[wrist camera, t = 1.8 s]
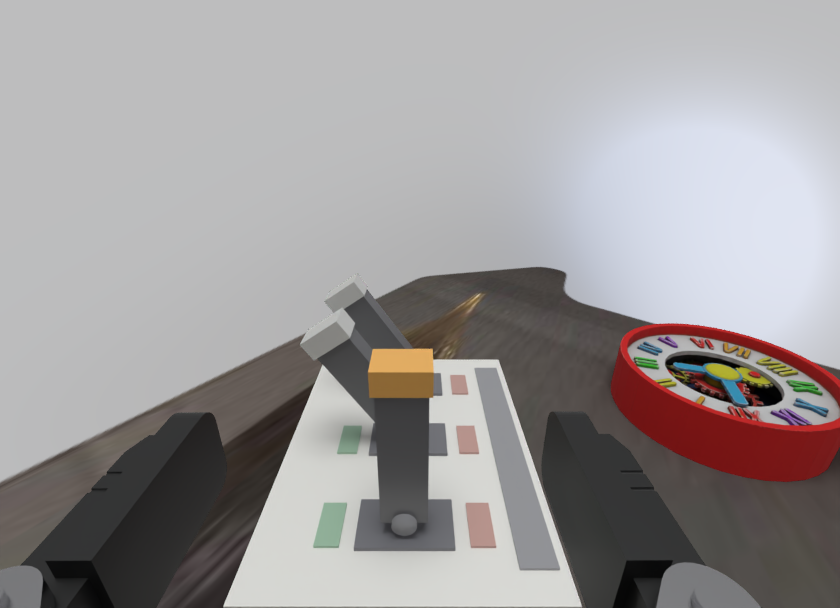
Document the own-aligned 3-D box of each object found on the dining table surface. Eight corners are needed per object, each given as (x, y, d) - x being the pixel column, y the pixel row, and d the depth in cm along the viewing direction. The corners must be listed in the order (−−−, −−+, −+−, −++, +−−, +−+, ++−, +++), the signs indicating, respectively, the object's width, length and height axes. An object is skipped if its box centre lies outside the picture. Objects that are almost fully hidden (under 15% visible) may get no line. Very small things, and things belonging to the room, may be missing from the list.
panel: (236, 647, 24) (222, 603, 22) (328, 388, 48) (324, 357, 46) (571, 647, 24) (582, 603, 22) (495, 388, 48) (498, 357, 46)
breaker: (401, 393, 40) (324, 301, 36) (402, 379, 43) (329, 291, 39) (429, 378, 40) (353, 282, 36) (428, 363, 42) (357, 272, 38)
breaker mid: (396, 452, 33) (299, 345, 29) (398, 430, 35) (308, 328, 31) (431, 434, 32) (335, 321, 28) (430, 413, 35) (342, 307, 31)
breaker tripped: (377, 535, 25) (367, 373, 21) (381, 500, 28) (373, 347, 23) (431, 535, 25) (433, 373, 21) (430, 500, 28) (432, 347, 23)
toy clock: (793, 337, 48) (922, 456, 31) (776, 378, 50) (886, 510, 33) (612, 314, 54) (633, 403, 36) (604, 352, 56) (620, 452, 39)
